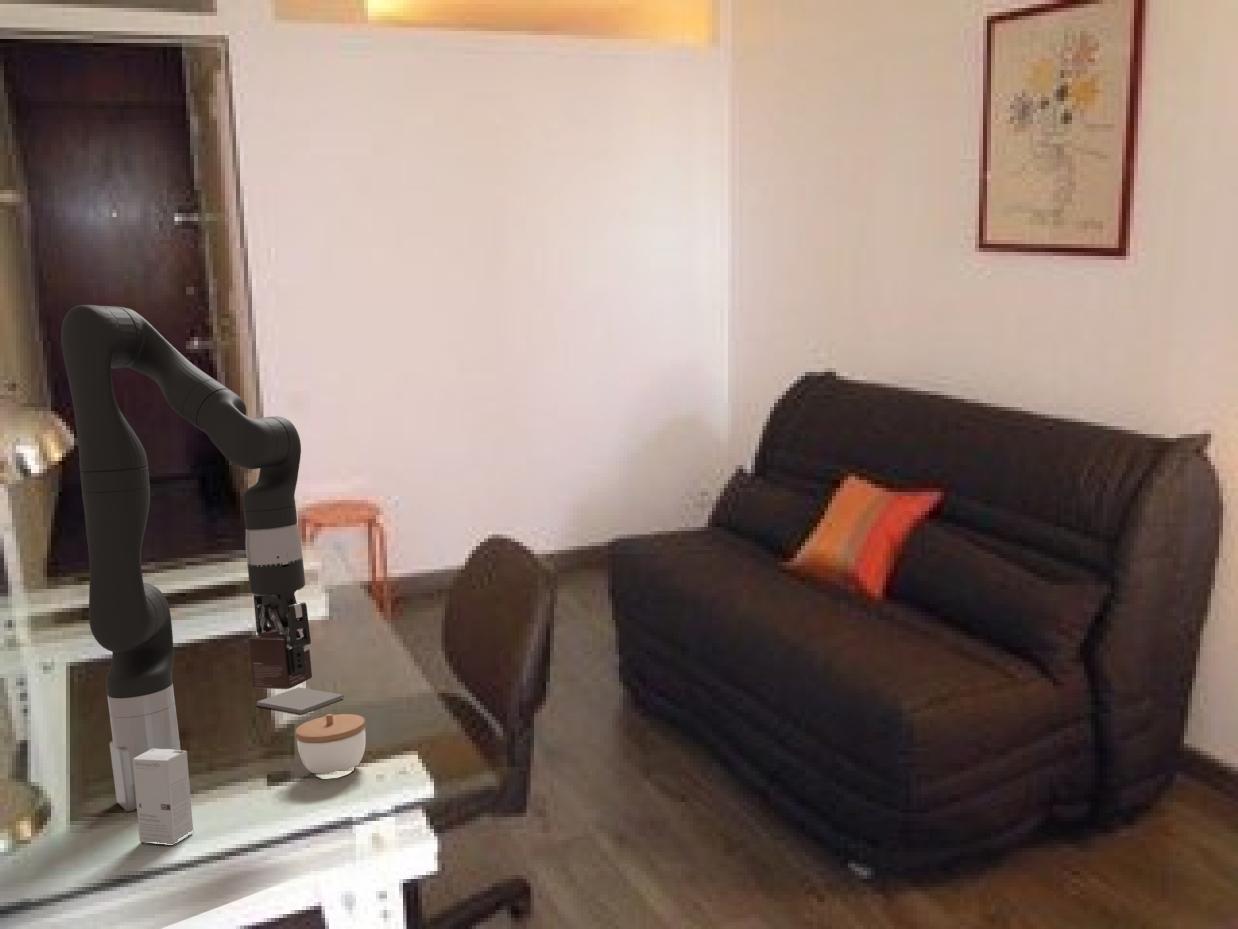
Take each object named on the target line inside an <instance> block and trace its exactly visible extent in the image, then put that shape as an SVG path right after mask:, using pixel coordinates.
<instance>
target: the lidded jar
mask: <svg viewBox="0 0 1238 929" xmlns="http://www.w3.org/2000/svg"><path fill="white" fill-rule="evenodd" d="M294 733H295V738H296V744H297V751H298V755H299V757H300V760H301V762H302V764H303V765H304V768H306V769H307V770H308V771H309V772H310V773H311V774H313V773H330V772H335V771H339V770H346V769H349V768H351V767H355V766H356V765H357V766H358V765H359V764H360V762H361V761H362V759H363V757H364V753H365V749H366V740H367V738H366V736H367V734H366V719H365V717H363V716H361V715H359V714H350V713H349V714H348V713H342V714H341V713H340V714H332V713H328V714H326V715H324V716H321V717H318V718H317V717H316V718H313V719H311V720H308V721H305V722H303V723H302V724H300V725H299V726H298V727H297V728H296V729H295V730H294ZM357 766H356V767H357ZM356 767H355V768H356Z"/></svg>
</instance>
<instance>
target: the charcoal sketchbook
mask: <svg viewBox="0 0 1238 929" xmlns="http://www.w3.org/2000/svg"><path fill="white" fill-rule="evenodd" d="M342 698H344V699H345V696H344V694H339V693H335V692H329V691H322V690H319V689H318V690H316V689H312V688H307V687H306V688H304V687H296V688H295V687H294V688H293V689H292V688H291V689H290V690H289V689H288V690H287V691H284V692H280V693H278V694H275V695H272V696H269V697H267V698H264V699H261V700H257V701H256V706H258V707H262V708H267V709H273V710H279V711H283V712H289V713H293V714H299V715H305V714H306V713H309V712H312V711H314V710H317V709H320V708H323V707H325V706H328V705H331V704H334V703H336V702H339V701H342V700H343V699H342ZM341 699H342V700H341Z"/></svg>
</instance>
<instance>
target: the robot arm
mask: <svg viewBox="0 0 1238 929" xmlns="http://www.w3.org/2000/svg"><path fill="white" fill-rule="evenodd" d="M61 324H62V325H61V332H60V334H61V335H60V336H61V337H60V338H61V341H60V342H61V350H62V356H63V360H64V361H63V362H64V365H65V371H66V375H67V380H68V384H69V385H68V386H69V390H70V395H71V400H72V406H73V413H74V420H75V427H76V429H75V430H76V437H77V445H78V457H79V458H78V460H79V472H80V473H79V475H80V484H81V496H82V502H83V509H84V510H83V511H84V521H85V530H86V531H85V532H86V541H87V548H88V559H89V561H88V562H89V586H88V587H89V590H88V592H89V597H88V622H89V623H88V624H89V627H90V628H89V629H90V632H91V634H92V637H93V638H94V640H96V642H97V644H99V645H100V646H101V647H102V648H103V649H106V650H107V651H109V652H112V656H111V664H110V667H109V670H108V672H107V674H106V677H105V691H106V696H107V697H106V698H107V703H108V711H109V712H108V713H109V722H110V730H111V737H112V741H110V742H109V751H110V759H111V768H112V775H113V782H114V789H115V790H114V791H115V798H116V802H117V804H118V805H119V806H121V807H122V808H123V810H124V811H126V812H127V811H129V812H132V811H135V809H137V805H136V793H135V782H134V771H133V761H132V760H133V759H134V758H135V757H137V756H139V755H141V754H143V753H145V752H147V751H149V750H151V749H173V750H182V749H181V742H180V734H179V726H178V725H179V724H178V718H177V717H178V715H177V709H176V700H175V692H174V690H175V689H174V684H173V683H174V682H173V675H172V674H173V667H174V662H175V649H174V648H175V647H174V636H173V626H172V625H173V623H172V616H171V615H172V614H171V610H170V604H169V603H168V600H167V598H166V597H165V595H164V593H163V592H162V591H161V590H160V589H159V588H157V587H156V586H155V585H153V584H151V583H149V582H144V578H143V572H142V571H143V569H142V548H143V542H144V537H145V533H146V532H145V531H146V527H147V524H148V517H149V512H150V504H151V487H150V486H151V485H150V472H149V464H148V457H147V452H146V450H145V448H144V446H143V444H142V442H141V441H140V438H139V437H138V436H137V434H136V432H135V431H134V429H133V428H132V427H131V425H130V424H129V422H128V421H127V419H126V417H125V416H124V414H123V412H122V411H121V409H120V408H119V405H118V402H117V400H116V397H115V396H116V395H115V391H114V386H113V379H112V378H113V377H112V369H123V368H124V369H125V368H128V369H131V370H132V371H133V370H134V371H136V372H138V373H140V374H142V375H144V376H146V377H147V378H149V379H151V380H153V381H154V382H155V383H156V384H157V385H158V387H159V388H160V389H161V392H162V394H163V397H164V399H165V400H166V402H167V404H168V405H169V406H170V407H171V409H172V411H175V413H176V414H178V415H179V416H180V417H181V418H183V419H184V420H186V421H187V422H188V423H190V424H191V425H193V426H194V427H196V428H197V429H198V430H200V431H202V433H204V434H206V435H207V437H208V438H209V439H210V440H211V442H212V443H213V445H214V446H215V447H216V448H217V449H218V451H219V452H220V453H221V454H222V455H223V456H224V457H225V459H226V460H227V461H229V463H232V464H233V465H235V466H237V467H240V468H241V469H246V470H257V469H259V475H258V480H257V481H256V482H255V484H253V485H252V486H250V487H248V488H247V489H246V490H245V491H244V493H243V496H242V504H243V515H244V525H245V526H244V527H245V555H246V563H247V572H248V575H247V576H248V582H249V583H248V584H249V591H250V594H252V595H253V604H254V616H255V618H254V619H255V627H256V628H255V629H256V630H255V631H256V633H257V635H258V634H260V633H263V632H267V631H270V630H272V629H276V630H277V633H278V636H279V637H282V638H285V644H286V648H287V659H288V669H289V674H290V675H291V676H298V675H302V674H304V673H305V672H306V666H305V656H304V648H303V647H305V646H306V645H309V646H310V645H312V644H311V643H312V641H311V632H310V624H309V623H310V622H309V614H308V606H307V603H306V601H303V602H297V600H296V595H295V593H296V592H297V591H300V590H302V589H303V588H304V587H306V578H305V570H304V569H305V568H304V558H303V548H302V539H301V536H300V531H299V530H300V529H299V526H298V517H297V516H298V515H297V514H298V513H297V507H296V506H297V505H296V498H295V493H296V488H297V485H298V484H297V483H298V478H299V477H298V476H299V470H300V464H301V457H302V456H301V454H302V444H301V439H300V436H299V432H298V429H297V428H296V427H295V425H294V424H293V422H291V421H290V420H289V419H287V418H286V417H283V416H265V417H255V418H252V417H249V416H248V415H247V405H246V404H245V402H244V400H243V399H242V398H241V397H240V396H239V395H238V394H237V393H235V392H234V391H233V390H231V389H230V388H228V387H226V385H223V384H222V383H220V382H219V381H218V380H216V379H214V378H213V377H211V376H210V375H209V374H207V373H206V372H204V371H203V370H201V369H200V368H199V367H197V365H194V364H193V363H192V362H191V361H190V360H188V359H187V358H186V357H185V356H184V355H183V354H182V353H181V352H179V351H178V349H176V348H175V347H174V346H173V345H172V344H171V343H170V342H169V341H168V340H167V339H166V338H165V337H164V336H163V335H162V334H160V332H159V331H158V330H157V329H156V328H155V327H154V326H153V325H152V324H151V323H150V322H149V321H148V320H147V319H145V318H144V317H143V316H142V315H140V314H139V313H138V312H137V311H135V310H133V309H131V308H128V307H123V306H116V305H113V306H110V305H98V304H97V305H95V304H94V305H93V304H80V305H76V306H73V307H72V308H71V309H69V310H68V311H67V313H66V314H65V315H64V318H63V320H62V323H61ZM302 630H303V633H302ZM289 635H290V637H289ZM296 636H297V638H296Z"/></svg>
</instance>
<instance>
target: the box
mask: <svg viewBox="0 0 1238 929" xmlns="http://www.w3.org/2000/svg"><path fill="white" fill-rule="evenodd" d="M302 633H303V630H302ZM289 637H290V635H289ZM296 638H297V636H296ZM248 646H249V648H248V649H249V656H250V658H249V659H250V660H249V661H250V669H251V670H250V671H251V679H252V680H251V681H252V688H253V689H264V690H265V689H268V690H269V689H270V690H271V689H272V690H289V689H290V690H291V689H292V688H295V687H296V686H298V685H301V684H303V683H304V682H306V681H308V680H310V679H312V677H313V674H312V673H313V672H312V662H311V654H310V651H311V650H310V644H309V645H306V646H305V647H303V648H304V656H305V666H306V672H305V673H304V674H302V675H298V676H291V675H290V674H289V669H288V659H287V648H286V644H285V638H282V637H279V636H278V633H277V630H276V629H272V630H270V631H267V632H263V633H260V634H258V633H257V634H256V635H254V636H250V637H249V638H248Z"/></svg>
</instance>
